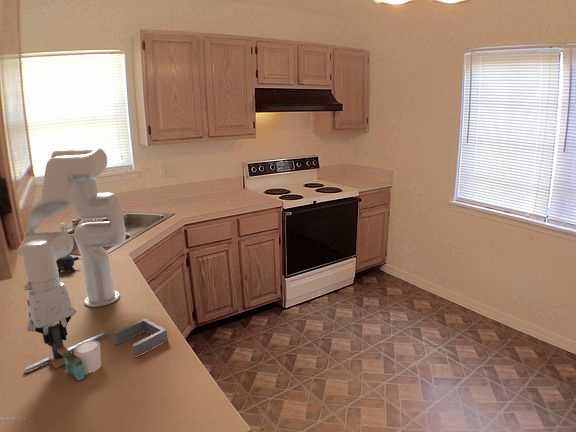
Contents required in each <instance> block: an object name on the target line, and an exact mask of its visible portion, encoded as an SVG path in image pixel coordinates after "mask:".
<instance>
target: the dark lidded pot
mask: <svg viewBox="0 0 576 432" xmlns="http://www.w3.org/2000/svg"><path fill="white" fill-rule="evenodd" d="M76 261H79V257H78V256H75V257H73V256H71V254H70V253H69V254H68V255H67V256H65V257H62V258H60V259H58V260H56V263H57V267H58V272H59V274H60V273H61V272H64V271H71V272H72V273H74V272H75V271H76V269H75V268H74V265H75V262H76Z"/></svg>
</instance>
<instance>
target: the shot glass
mask: <svg viewBox="0 0 576 432" xmlns="http://www.w3.org/2000/svg"><path fill="white" fill-rule="evenodd" d="M82 342H83V341H82ZM80 343H81V342H80ZM78 344H79V343H78ZM101 352H102V351H101V342H99V340H98V341H95V340H93V341H86V342H83V343H81V344H79V345H78V346H76V347H75V349H74V352H73V354H74V355H75V356H76V357H78V358H79V359H80V360H81V361H82V366H83V372H84V373H90V372H94V371H96V370H98V369H99V368H100V367H101V368H102V353H101ZM101 368H100V369H101ZM100 369H99V370H100ZM99 370H98V371H99ZM96 372H97V371H96ZM94 373H95V372H94Z"/></svg>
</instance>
